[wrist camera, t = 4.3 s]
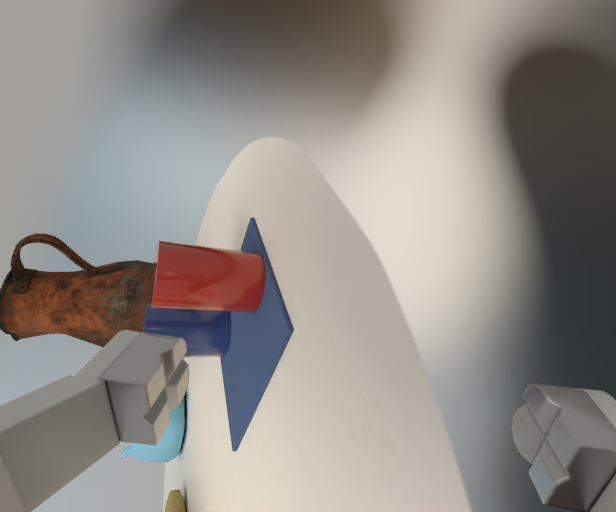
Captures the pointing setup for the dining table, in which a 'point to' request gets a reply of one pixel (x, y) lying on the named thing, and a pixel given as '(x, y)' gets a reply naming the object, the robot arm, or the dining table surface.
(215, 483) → the dining table surface
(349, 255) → the dining table surface
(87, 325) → the pitcher
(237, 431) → the blue mat
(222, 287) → the red canister
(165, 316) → the blue canister
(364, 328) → the dining table surface
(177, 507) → the fruit
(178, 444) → the teapot
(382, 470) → the dining table surface
